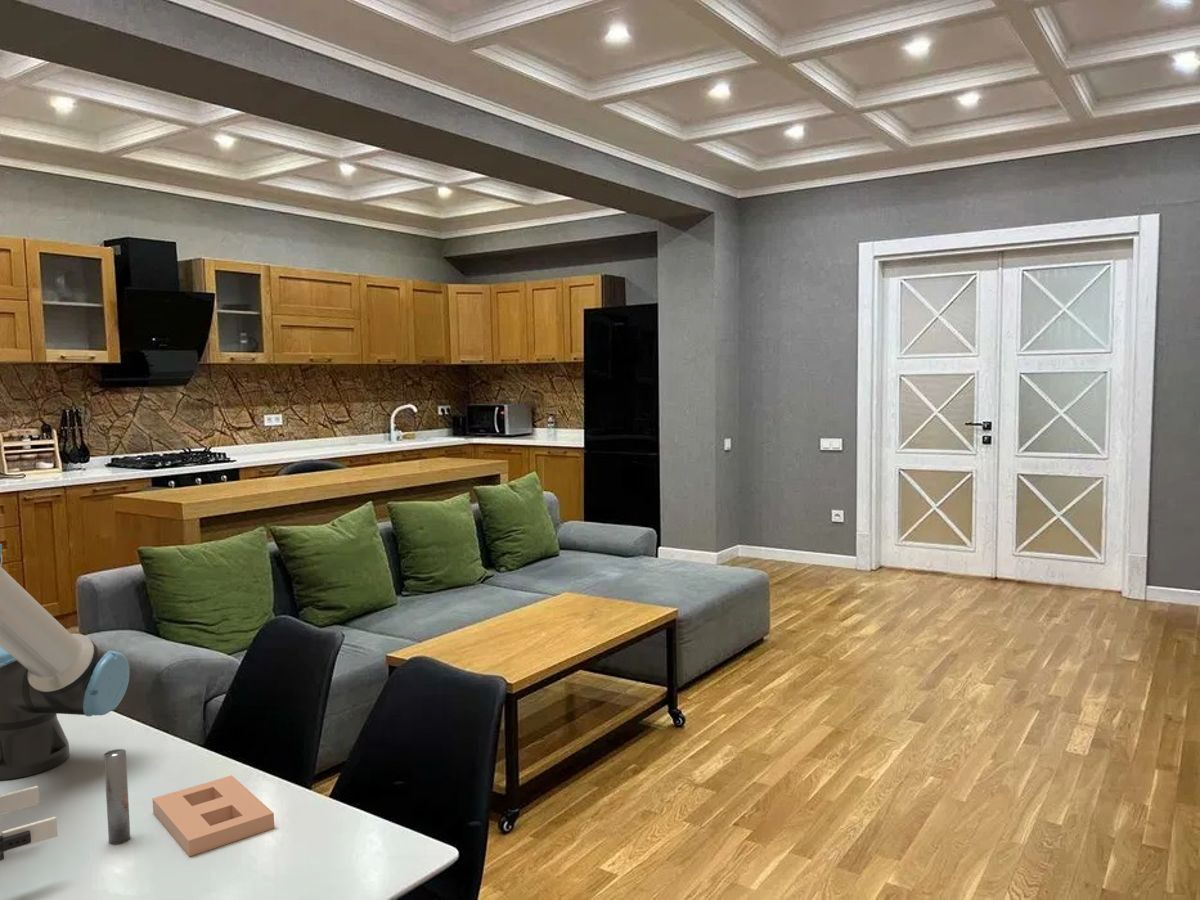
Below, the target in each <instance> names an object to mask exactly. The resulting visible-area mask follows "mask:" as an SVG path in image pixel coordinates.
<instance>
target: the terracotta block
mask: <svg viewBox="0 0 1200 900" xmlns="http://www.w3.org/2000/svg"><path fill="white" fill-rule="evenodd" d="M152 813H153V814H154V816H155V817H156V818H157V820H159V822H160V823H161V824H162V826H163V827H164V828H165V829H166V830H167V831H168V833H169V834H170V835H171V836H172V838H173V839H174V840H175V841H176V842H177V843H178V845H179V846H180V848H182V850H183V851H184V852H185V853H186V854H187V857H189V858H191V857H193V856H196V855H198V854H202V853H205V852H208V851H210V850H214V849H217V848H219V847H222V846H226V845H228V844H231V843H234V842H237V841H239V840H243V839H246V838H249V837H252V836H255V835H258V834H260V833H263V832H267V831H269V830H272V829H275V812H274V811H272V810H271V809H270V808H269V807H268V806H267V805H265V803H264V802H262V801H261V800H260V799H259V798H258V797H257V796H256V795H254V793H252V792H251V791H250V789H248V788H247V787H245V786H244V785H243V783H241V781H239V780H238V779H237V778H236V777H235V776H233V775H232V774H231V775H229V776H225V777H222V778H218V779H215V780H211V781H207V782H204V783H200V784H197V785H194V786H193V785H192V786H191V787H187V788H184V789H180V790H176V791H173V792H170V793H166V794H163V795H159V796H156V797H153V798H152Z"/></svg>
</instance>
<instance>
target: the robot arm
mask: <svg viewBox="0 0 1200 900" xmlns="http://www.w3.org/2000/svg"><path fill="white" fill-rule="evenodd" d="M2 549H3V545H2V543H0V780H1V781H3V780H12V779H14V780H15V779H19V778H24V777H29V776H33V775H37V774H40V773H43V772H46V771H48V770H51V769H53V768H55V767H57V766H59V765H61V764H62V763H64V762H65V761H66V760H68V759H69V757H70V744H69V740H68V738H67V736H66V734H65V732H64V730H63V727H62V726H61V722H60V720H58V715H59V714H61V715H75V716H76V715H77V716H85V717H89V718H90V717H93V716H105V715H107V714H109V713H110V712H113V711H114V710H115V709H116V708H117V707H118V706H119V704H120V703H121V701H122V700H123V698H124V696H125V694H126V693H127V692H126V691H127V689H128V686H129V682H130V673H131V672H130V670H131V669H130V664H129V661H128V658H127V657H126V656H125V655H124V654H123V653H121V652H119V651H115V650H108V651H107V650H103V649H102V648H99V646H97V644H95V642H93V640H91V639H90V638H89V637H88V636H86V635H84V634H82V633H71V632H69V631H68V630H67V629H66V628H65V626H63V625H62V624H61V623H60V622H59V621H58V620H57V619H56V618H55V617H54V616H53V615H52V614H51V613H50V612H49V611H48V610H47V609H46V608H44V606H43V605H41V604H40V602H38V601H37V600H36V599H35V598H34V597H33V596H32V595H31V594H30V593H29V592H28V591H27V590H26V589H25V588H24V587H23V586H21V584H19V582H17V580H16V579H14V577H12V576H11V575H10V574H9V573H8V572H7V571H6V570H5V569H4V568H3V567H2V564H3V555H2V551H3V550H2ZM57 714H58V715H57ZM37 805H40V788H39V786H38V785H35V786H34V785H33V786H30V787H27V788H23V789H20V790H15V791H10V792H6V793H3V794H0V815H4V814H7V813H10V812H15V811H18V810H22V809H26V808H29V807H33V806H37ZM57 820H58V819H57V816H56V815H55V816H52V817H48V818H45V819H41V820H38V821H34V822H31V823H27V824H23V825H20V826H17V827H13V828H9V829H6V830H2V831H1V835H0V862H1V861H4V859H5V853H6V852H9V851H13V850H16V849H20V848H23V847H26V846H29V845H32V844H36V843H40V842H43V841H46V840H50V839H53V838H56V837H58V821H57Z"/></svg>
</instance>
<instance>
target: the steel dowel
mask: <svg viewBox="0 0 1200 900" xmlns="http://www.w3.org/2000/svg"><path fill="white" fill-rule="evenodd" d="M103 758H104V763H103V764H104V777H105V780H104V781H105V796H106V814H107V831H108V832H107V833H108V834H107V835H108V844H110V845H121V844H123V843H126V842H128V841H129V840H131V828H130V827H131V826H130V825H131V822H130V806H129V805H130V804H129V788H128V787H129V785H128V784H129V783H128V769H127V767H128V765H127V751H126V750H125V749H122V748H118V749H112V750H109V751H107V752H105V753H104V754H103Z"/></svg>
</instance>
